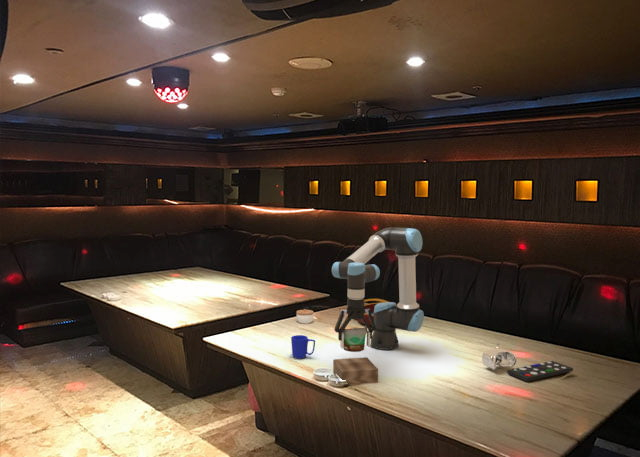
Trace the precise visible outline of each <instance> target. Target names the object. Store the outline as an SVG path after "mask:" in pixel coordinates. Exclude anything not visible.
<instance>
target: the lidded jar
mask: <svg viewBox="0 0 640 457" xmlns="http://www.w3.org/2000/svg"><path fill="white" fill-rule="evenodd" d="M296 320H297V322H298V323H299V324H303V325H307V324H308V325H309V324H311V323H312V322H313V320H314V311H313V310H311V309H306V308H304V309H299V310H296Z"/></svg>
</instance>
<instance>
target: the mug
mask: <svg viewBox="0 0 640 457" xmlns="http://www.w3.org/2000/svg"><path fill="white" fill-rule="evenodd" d="M290 339H291V354H292V357H293V358H294V359H304V358H306V356H307V355H308V356H312V354H314V351H315V346H316V340H315V339H311V338H308V336H306V335H303V334H298V335H297V334H296V335H292V336H291V337H290ZM309 342H313V347H312V351H311V352H308V344H309Z"/></svg>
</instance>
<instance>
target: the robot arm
mask: <svg viewBox="0 0 640 457" xmlns="http://www.w3.org/2000/svg"><path fill="white" fill-rule="evenodd" d="M423 243H424V242H423V237H422V234H421V232H420V231H419V230H418V229H416V228H410V227H395V226H394V227H391V226H390V227H385V228H383V229H381V230H378V231H377V232H375V233H373V234H372V235H371V236H370V237H369V238H368V241H367V242H366V243H364V244H363V245H362V246H360V247H359V248H358V249H356V251H354V252H353V253H352V254H351V255H349V256H348V257H346V258H345V259H344V260H343V261H336V262H334V263H333V264H332V266H331V274H332V276H333V277H334V278H337V279H341V280H342V279H344V280H347V301H346V302H347V303H346V304H347V307H346V309H340V310H339V316H338V318H337V321H336V324H335V327H334V330H333V331H334V332H335V333H338V335H337V336H338V338H337V339H338V340H339V341H340V342H339V343H340V348H341V349H344V333H343V331H344V329H347V326H348V325H349V323H350V322H351V321H352V320H357V319H360V318H361V320H362V321H363V323H362V324H363V325H364V327H365V326H366V327H367V333H366V347H368V348H370V347H372V348H376V349H379V350H394V349H397V348H398V347H399V337H398V335H397V332H396V331H397V330H401V331H406V332H415V333H416V332H418V331H419V330H420V329H421V327H422V326H423V322H424V319H425V318H424V317H425V314H424V311H423V310H421V309H420V304H419V303H417V282H416V279H417V278H416V275H417V274H416V257H417V256H419V252H421V250H422V248H423ZM385 250H387V251H388V250H391V251H394V254H395V256H396V257H397V259H398V290H399V293H398V294H399V298H398V299H399V302H398V303H396V302H393V301H392V302H391V301H388V302H384V303H382V302H378V303H379V304H376V305H375V308H374V320H373V318H372V315H371V310H370V309H369V308H368V309H364V305H365V303H364V300H365V294H366V293H365V289H366V288H365V287H366V286H365V285H366V283H369V282H370V283H371V282H373V281H376V280H378V278H380V275H381V274H380V273H381V271H380V268H379V266H377V265H376V264H371V263H370V264H367V263H368V262H369V261H370V260H371V259H372V258H373V257H375V256H376V255H377V254H378V253H382V252H384V251H385ZM365 312H366V314H367V315H368V318H369V320H370V323H371V325H369V324H368V323H367V321H366V320H365V318H364V317H363V314H364V313H365ZM346 314H347V316H346V317H345V320H344V316H345V315H346ZM343 320H344V321H343ZM342 321H343V322H342ZM396 329H397V330H396Z"/></svg>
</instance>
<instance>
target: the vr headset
mask: <svg viewBox="0 0 640 457" xmlns="http://www.w3.org/2000/svg"><path fill="white" fill-rule="evenodd" d="M499 345H500V343H499V342H498V343H496V348H495V349H491V350H486V351H485V352H483V353H482V355H481V356H482V360H481V363H482V364H483V366H486V367H487V368H490V369H492V370H493V371H495V370H497V366H499V367H502V368H512V367H514V366H515V365H517V356H516V354H515V353H514V352H513V351H510V350H504V349H501V348H499Z"/></svg>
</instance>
